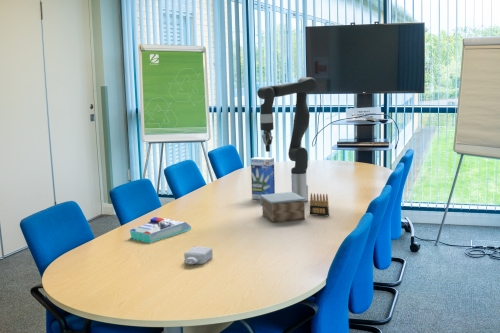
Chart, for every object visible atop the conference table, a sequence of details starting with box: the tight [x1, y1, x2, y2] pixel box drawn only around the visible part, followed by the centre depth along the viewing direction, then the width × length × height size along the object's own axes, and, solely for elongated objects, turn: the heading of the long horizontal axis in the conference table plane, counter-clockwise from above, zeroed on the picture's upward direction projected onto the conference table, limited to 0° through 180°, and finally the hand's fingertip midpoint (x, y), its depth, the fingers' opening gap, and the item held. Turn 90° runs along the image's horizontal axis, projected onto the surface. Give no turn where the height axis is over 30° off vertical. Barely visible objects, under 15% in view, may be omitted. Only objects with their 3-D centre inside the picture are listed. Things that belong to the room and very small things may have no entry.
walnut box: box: [261, 198, 306, 224], centre depth 315 cm, size 18×18×10 cm
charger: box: [183, 246, 214, 265], centre depth 245 cm, size 5×9×15 cm
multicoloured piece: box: [129, 217, 192, 244], centre depth 291 cm, size 17×30×9 cm, turn 142°
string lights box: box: [250, 156, 276, 200], centre depth 364 cm, size 13×8×26 cm, turn 62°
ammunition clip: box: [309, 192, 330, 216], centre depth 317 cm, size 11×2×12 cm, turn 65°
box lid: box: [259, 191, 306, 207], centre depth 315 cm, size 19×20×6 cm
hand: (267, 151), depth 336 cm, fingers closed
